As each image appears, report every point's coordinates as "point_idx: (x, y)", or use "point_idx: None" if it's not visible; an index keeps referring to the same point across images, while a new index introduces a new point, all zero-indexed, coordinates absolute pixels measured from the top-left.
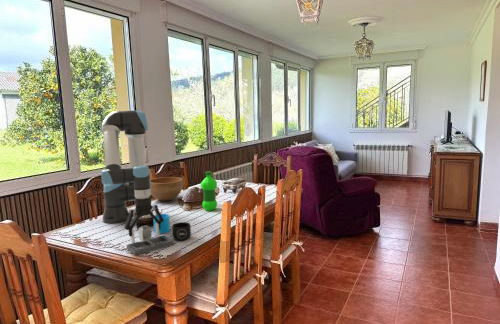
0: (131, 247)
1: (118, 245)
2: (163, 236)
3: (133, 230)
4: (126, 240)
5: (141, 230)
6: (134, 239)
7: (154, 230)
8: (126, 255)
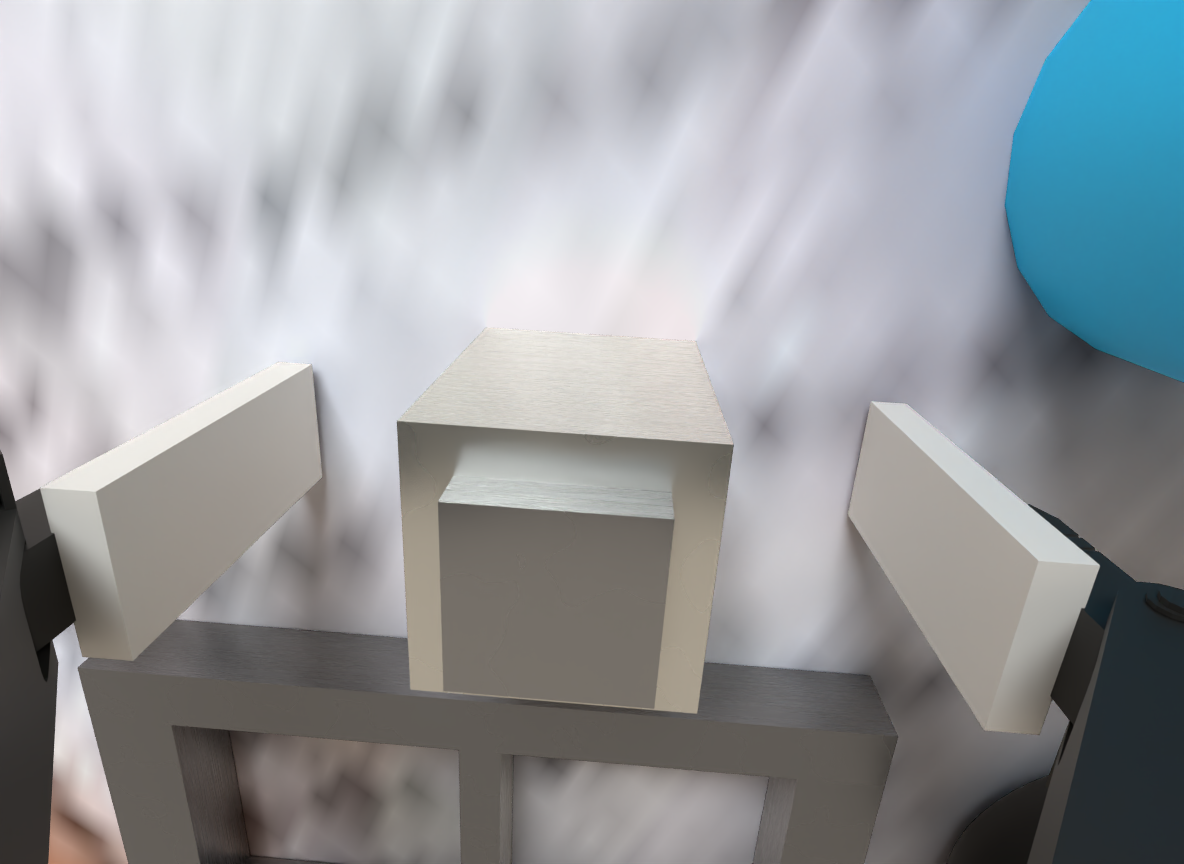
0: (135, 820)
1: (12, 347)
2: (829, 783)
3: (127, 651)
4: (215, 172)
5: (415, 620)
6: (287, 507)
7: (1049, 118)
8: (89, 812)
